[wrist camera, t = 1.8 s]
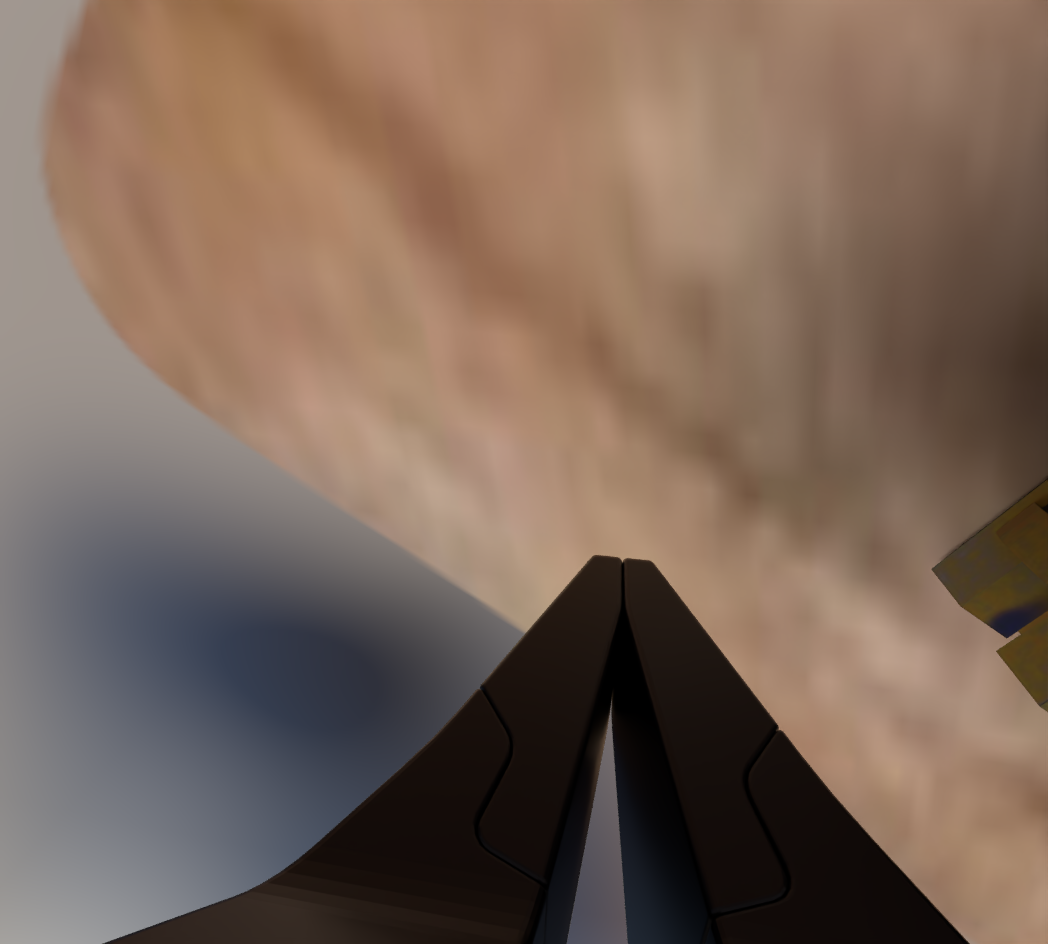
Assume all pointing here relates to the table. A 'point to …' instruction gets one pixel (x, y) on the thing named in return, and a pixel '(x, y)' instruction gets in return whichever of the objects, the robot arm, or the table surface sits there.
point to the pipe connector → (1009, 586)
